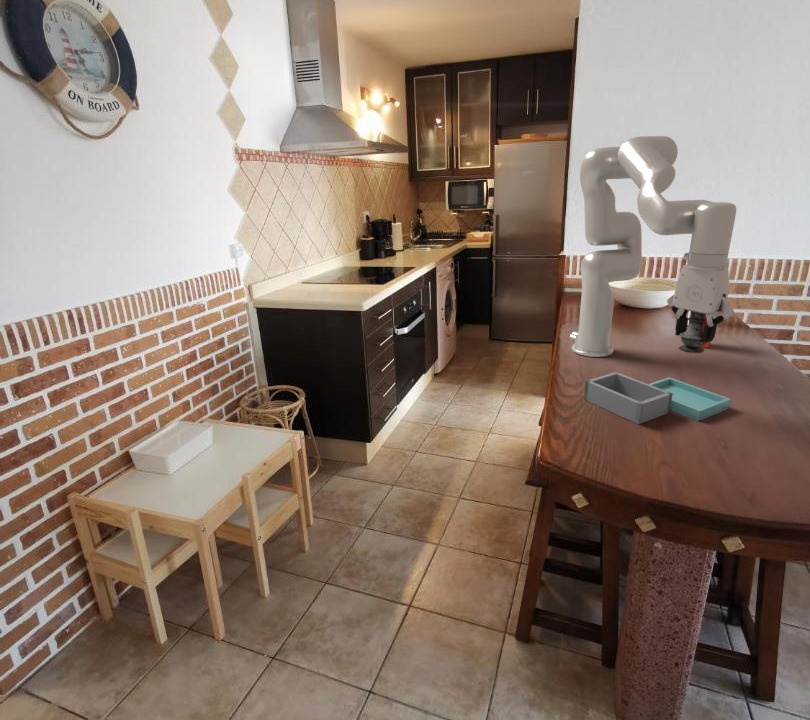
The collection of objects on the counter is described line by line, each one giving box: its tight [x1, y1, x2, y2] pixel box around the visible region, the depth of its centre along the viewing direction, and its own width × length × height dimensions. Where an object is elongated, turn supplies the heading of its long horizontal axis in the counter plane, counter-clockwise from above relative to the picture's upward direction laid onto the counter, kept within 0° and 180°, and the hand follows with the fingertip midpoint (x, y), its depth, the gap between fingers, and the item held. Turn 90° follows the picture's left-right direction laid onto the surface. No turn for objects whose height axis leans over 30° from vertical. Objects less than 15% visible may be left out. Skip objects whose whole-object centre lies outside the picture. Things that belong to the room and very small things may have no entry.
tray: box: [648, 377, 732, 422], centre depth 122 cm, size 16×12×2 cm
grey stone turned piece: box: [678, 311, 706, 354], centre depth 116 cm, size 6×6×12 cm
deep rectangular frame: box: [583, 371, 673, 425], centre depth 121 cm, size 16×11×5 cm
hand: (693, 337), depth 117 cm, fingers closed on grey stone turned piece, 5 cm apart
